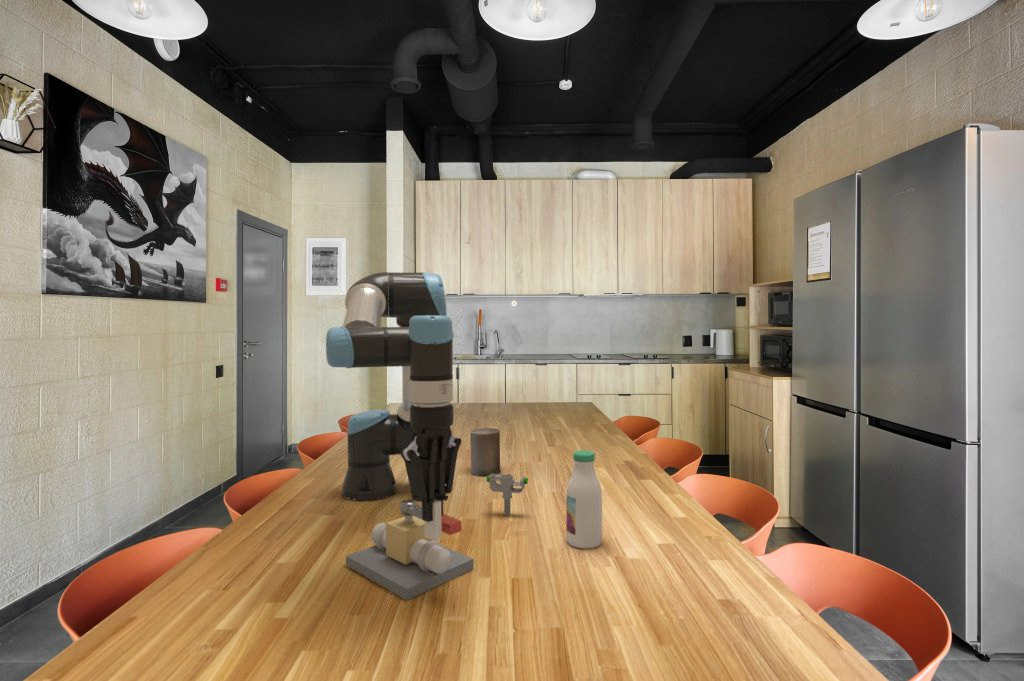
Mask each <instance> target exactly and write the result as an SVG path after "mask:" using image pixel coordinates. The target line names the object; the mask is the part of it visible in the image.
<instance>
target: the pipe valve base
mask: <svg viewBox="0 0 1024 681" xmlns="http://www.w3.org/2000/svg"><path fill="white" fill-rule="evenodd" d="M370 538H371V541H372V542H373V544H375V545H373V546H369V547H367V548H363V549H362V550H361V549H360V550H358V551H356V552H353V553H350V554H348V555H346V556H345V566H346V565H347V566H349V567H350V568H349V567H348V568H349V569H351V568H352V569H351V570H353V571H354V570H355V572H356V571H357V572H356V573H358V572H359V573H358V574H360V573H361V574H362V575H361V574H360V575H361V576H363V575H364V576H363V577H365V576H366V577H365V578H366V579H368V578H369V580H371V581H372V582H374V583H375V582H376V584H377V583H378V584H377V585H379V584H380V585H379V586H381V587H382V586H383V588H384V587H385V588H384V589H386V590H388V591H389V590H390V591H389V592H392V593H393V594H394V595H396V596H399V597H400V598H402V599H404V600H405V601H409V600H410V599H413V598H415V597H417V596H419V595H421V594H423V593H426V592H427V591H429V590H432V589H434V588H437V587H438V586H440V585H443V584H445V583H447V582H449V581H451V580H453V579H455V578H457V577H459V576H462V575H464V574H466V573H467V572H470V571H472V570H474V567H475V566H474V558H472V557H470V556H468V555H465V554H463V553H460V552H458V551H456V550H453V549H452V548H449V547H447V546H444V545H443V544H442V543H441V542H439V541H438V540H436V541H435V540H432V539H429V538H426V537H425V532H424V520H422V519H419V518H417V517H415V516H413V515H404V516H403V517H400V518H399V517H398V518H396V519H394V520H391V521H387V522H379V523H377V524H376V525H375V526H374V527H373V529H372V531H371V534H370ZM347 566H346V567H347Z"/></svg>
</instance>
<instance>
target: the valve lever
mask: <svg viewBox="0 0 1024 681" xmlns="http://www.w3.org/2000/svg"><path fill="white" fill-rule="evenodd" d="M399 505H400V507H399V509H400V510H399V511H400V514H401V515H403V516H405V515H413V516H415V517H417V518H419V519H422V505H421V506H420V505H418V501H416V500H413V499H404V500H401V501H400V504H399ZM422 520H423V519H422ZM460 532H462V520H461V519H457V518H454V517H452V516H450V515H448V514H446V513H443V516H442V517H441V533H444V534H447V535H449V536H451V535H455V534H457V533H460Z"/></svg>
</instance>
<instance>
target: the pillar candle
mask: <svg viewBox="0 0 1024 681" xmlns="http://www.w3.org/2000/svg"><path fill="white" fill-rule="evenodd" d="M469 432H470V436H469V437H470V470H471V474H472V475H474V476H477V475H478V476H477V477H487V476H490V475H491V474H501V436H500V435H501V434H500V433H501V432H500V429H498V428H495V427H487V426H485V427H483V428H481V427H480V428H474V429H471V430H470V431H469Z"/></svg>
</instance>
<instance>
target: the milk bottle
mask: <svg viewBox="0 0 1024 681" xmlns="http://www.w3.org/2000/svg"><path fill="white" fill-rule="evenodd" d="M595 454H596V453H595V452H594V451H592V450H583V449H582V450H575V451H574V452H573V463H574V467H573V470H572V473H571V476H570V478H569V480H568V483H567V488H566V541H567V544H568V545H570V546H571V547H574V548H577V549H583V550H585V549H587V550H589V549H594V548H597V547H599V546H601V544H602V540H603V499H602V498H603V496H602V488H601V484H600V480H599V478H598V476H597V474H596V470H595V465H594V464H595V462H596V461H595V458H596V456H595Z"/></svg>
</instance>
